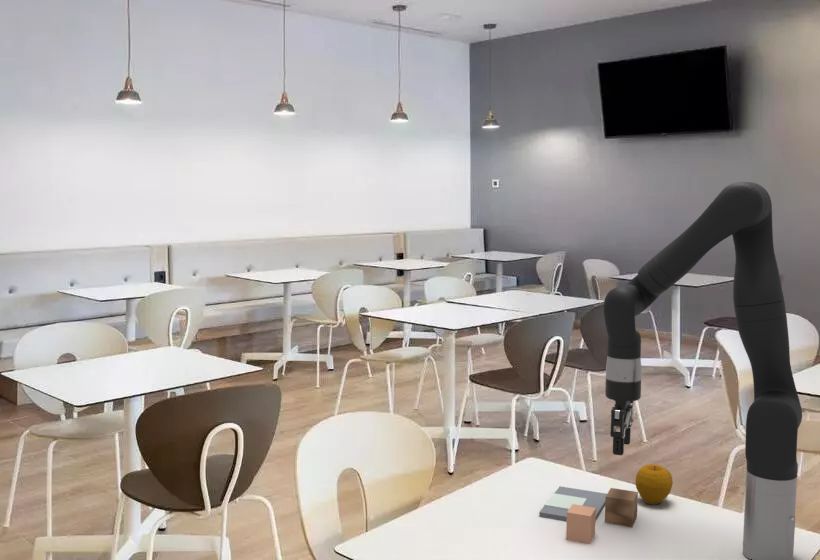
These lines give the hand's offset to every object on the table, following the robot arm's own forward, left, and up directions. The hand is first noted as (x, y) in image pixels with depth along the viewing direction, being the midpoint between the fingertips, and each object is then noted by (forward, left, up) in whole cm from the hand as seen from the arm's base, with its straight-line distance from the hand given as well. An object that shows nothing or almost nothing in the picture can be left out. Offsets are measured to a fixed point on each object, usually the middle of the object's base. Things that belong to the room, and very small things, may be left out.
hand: (621, 449), depth 178 cm
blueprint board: (+11, -3, -16) cm, 20 cm away
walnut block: (0, 0, -16) cm, 16 cm away
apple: (-5, -15, -17) cm, 23 cm away
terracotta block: (+6, +13, -16) cm, 21 cm away
